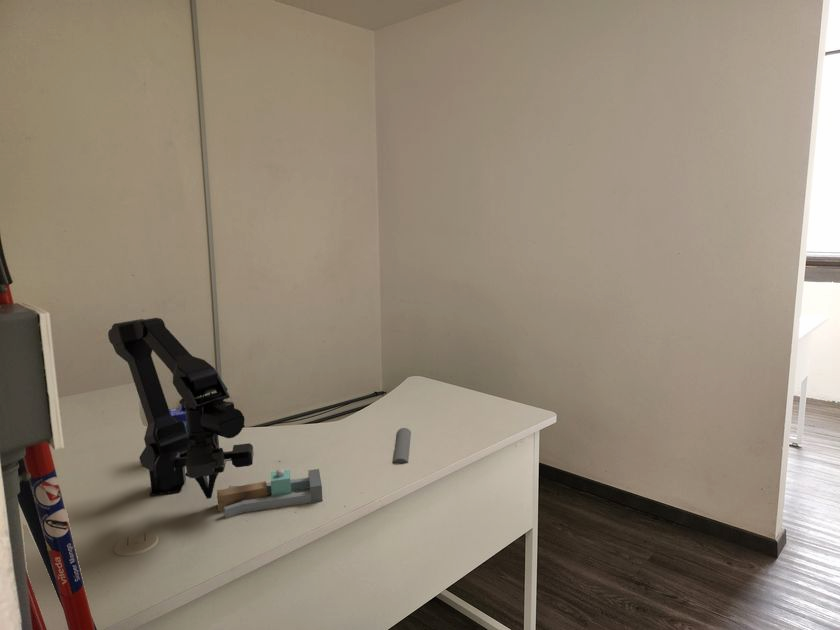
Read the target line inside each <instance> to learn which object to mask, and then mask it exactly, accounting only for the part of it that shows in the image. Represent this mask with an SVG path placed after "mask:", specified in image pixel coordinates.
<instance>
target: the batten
mask: <svg viewBox="0 0 840 630" xmlns="http://www.w3.org/2000/svg"><path fill="white" fill-rule="evenodd" d="M266 483H267V481H266V480H264V481H260V482H253V483H249V484H244V485H236V486H237V487H232V488H228V487H227V488H223V489H217V490H216V499H217V509H218V512H221V511H223V512H224V507H226V506H229V505H232V504H235V503H239V502H242V501H244V500H251V499H258V498H265V497H269V496H268V493H267V485H266Z"/></svg>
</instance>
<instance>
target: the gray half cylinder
mask: <svg viewBox="0 0 840 630" xmlns="http://www.w3.org/2000/svg"><path fill="white" fill-rule="evenodd" d="M395 436H396V437H395V443H394V451H393V456H392V457H393V458H392V463H394V464H395V463H397V464H399V463H403V464H404V463H405V464H407V463H409V456H410V447H411V436H412V431H411V430H410V429H409V428H407V427H402V428H399V429H398V430H397V431H396V435H395Z"/></svg>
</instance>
